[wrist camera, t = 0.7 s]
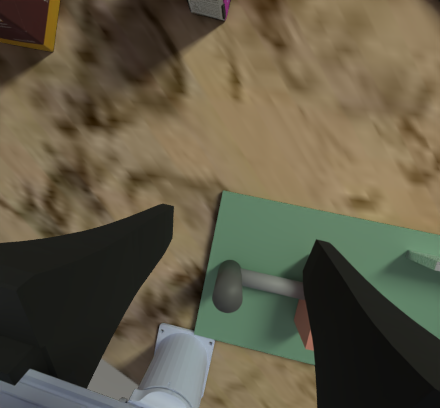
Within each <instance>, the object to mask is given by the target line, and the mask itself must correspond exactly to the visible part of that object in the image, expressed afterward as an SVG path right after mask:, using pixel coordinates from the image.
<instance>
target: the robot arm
mask: <svg viewBox="0 0 440 408" xmlns="http://www.w3.org/2000/svg"><path fill="white" fill-rule="evenodd" d="M173 213H174V206H171V205H166V204H160V205H157V206H155V207H152V208H150V209H147V210H145V211H142V212H140V213H137V214H135V215H132V216H130V217H127V218H124V219H121V220H119V221H116V222H113V223H110V224H107V225H104V226H100V227H97V228H93V229H89V230H85V231H81V232H76V233H71V234H66V235H62V236H56V237H50V238H43V239H36V240H28V241H19V242H7V243H0V408H199V406H200V400H201V398H202V397H203V394H204V389H205V385H206V380H207V375H208V371H209V366H210V361H211V357H212V352H213V347H214V343H215V340H214V339H210V338H206V337H202V336H198V335H194V331H193V330H189V329H185V328H181V327H178V326H174V325H170V324H166V323H161V324H160V326H159V331H158V336H157V342H156V347H155V352H154V357H153V359H152V361H151V363H150V365H149V367H148V369H147V371H146V373H145V375H144V377H143V379H142V381H141V383H140V385H139V387H138V389H134V391H133V393H132V395H131V397H130V399H129V401H128V402H127V399H126V398H121V399H120V400H116V399H113V398H110V397H108V396H105V395H102V394H99V393H96V392H94V391H91V390H88V389H87V387H88V385H89V382H90V380H91V378H92V376H93V374H94V372H95V370H96V368H97V366H98V364H99V362H100V360H101V358H102V356H103V354H104V352H105V350H106V348H107V346H108V344H109V342H110V340H111V338H112V336H113V334H114V332H115V331H116V329H117V327H118V325H119V323H120V321H121V320H122V318H123V316H124V314H125V312H126V310H127V309H128V307H129V305H130V303H131V302H132V300H133V298H134V296H135V295H136V293H137V292H138V290H139V289H140V287H141V286H142V284H143V283H144V282H145V280H146V279H147V277H148V276H149V275H150V273H151V272H152V270H153V269H154V268H155V266H156V265H157V263H158V262H159V261H160V259H161V258H162V256H163V255H164V253H165V251H166V250H167V248H168V246H169V244H170V242H171V240H172V235H173ZM303 290H304V296H305V302H306V308H307V313H308V318H309V324H310V329H311V334H312V341H313V348H314V360H315V372H316V389H317V408H440V339H438V338H437V337H436V336H434V335H433V334H432V333H430V332H429V331H428V330H426V329H425V328H423V327H422V326H421V325H419V324H418V323H417V322H415V321H414V320H413V319H411V318H410V317H409V316H408V315H406V314H405V313H404V312H403V311H401V310H400V309H399V308H398V307H396V306H395V305H394V304H393V303H392V302H390V301H389V300H388V299H387V298H386V297H385V296H383V295H382V294H381V293H380V292H379V291H378V290H377V289H376V288H375V287H374V286H373V285H372V284H370V283H369V282H368V281H367V280H366V279H365V278H364V277H363V276H362V275H361V274H360V273H359V272H358V271H357V270H356V269H355V268H354V267H353V266H352V265H351V264H350V263H349V262H348V261H347V259H346V258H345V257H344V256H343V255H342V254H341V253H340V252H339V251H338V250H337V249H336V248H335V247H334V246H333V245H332V244H331V243H330V242H326V241H322V240H317V239H316V241H315V243H314V245H313V248H312V250H311V252H310V255H309V257H308V259H307V262H306V264H305V266H304V269H303ZM161 329H162V330H164V331H162V330H161ZM209 342H212V343H209Z"/></svg>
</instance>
